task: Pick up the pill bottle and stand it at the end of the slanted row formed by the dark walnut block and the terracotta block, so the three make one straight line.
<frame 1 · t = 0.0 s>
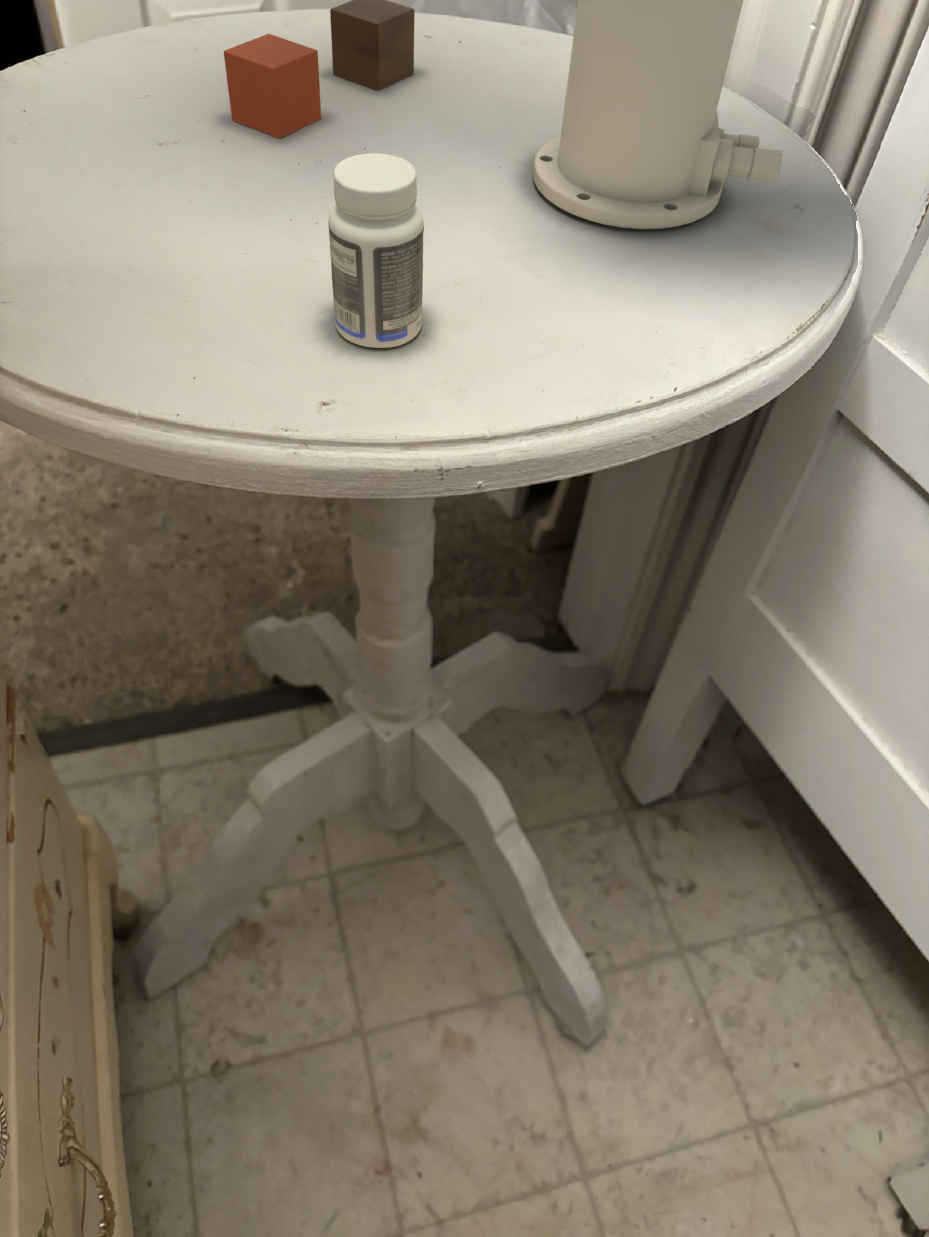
walnut block: (373, 74, 74), on the table
terracotta block: (277, 119, 68), on the table
pill bottle: (378, 329, 52), on the table
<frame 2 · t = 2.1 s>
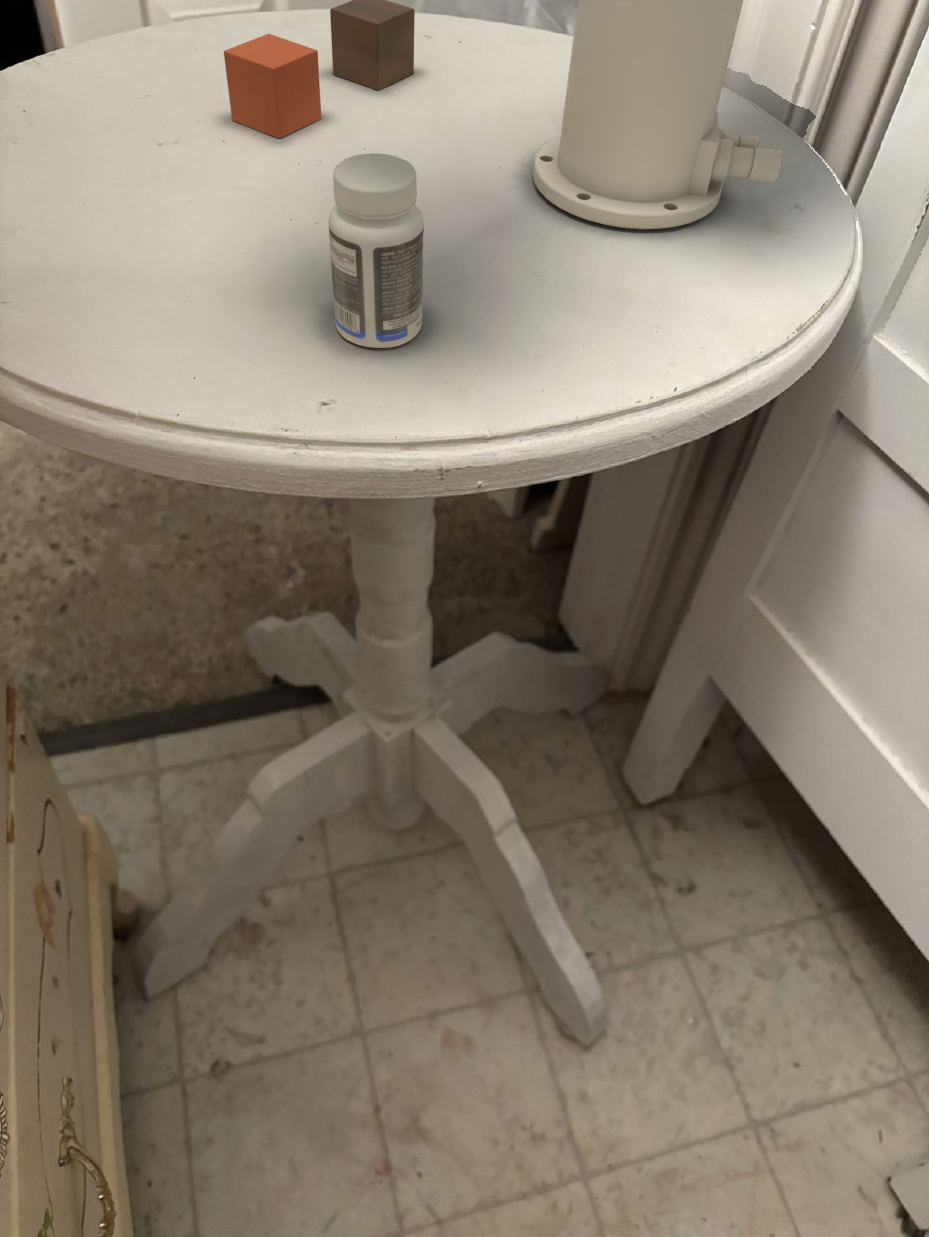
nothing on the table moved.
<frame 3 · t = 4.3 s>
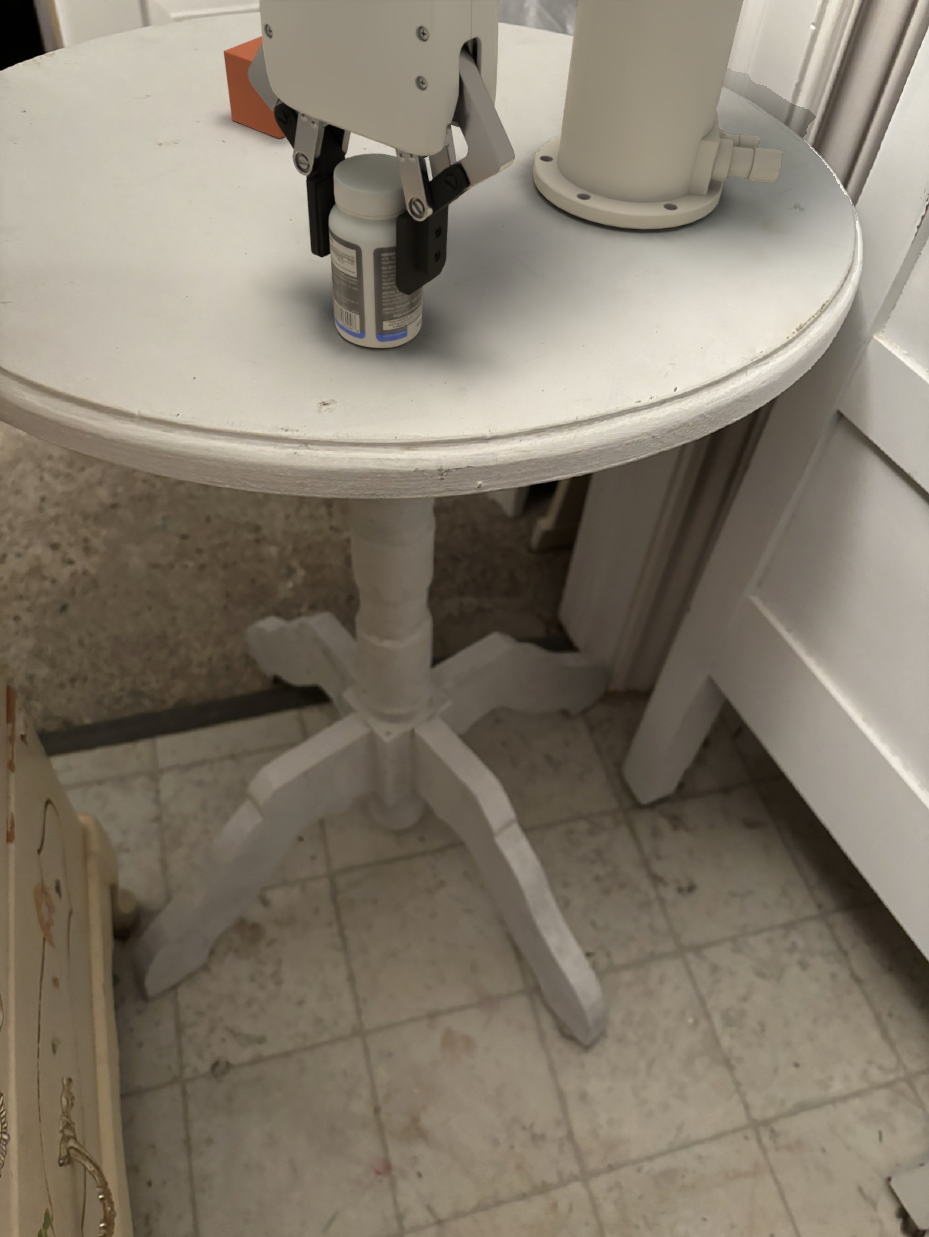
hand: (377, 260, 49), 4 cm above the table, tool pointing down, fingers closed on pill bottle, 4 cm apart
pill bottle: (378, 329, 52), on the table, touching gripper
everything else where it was.
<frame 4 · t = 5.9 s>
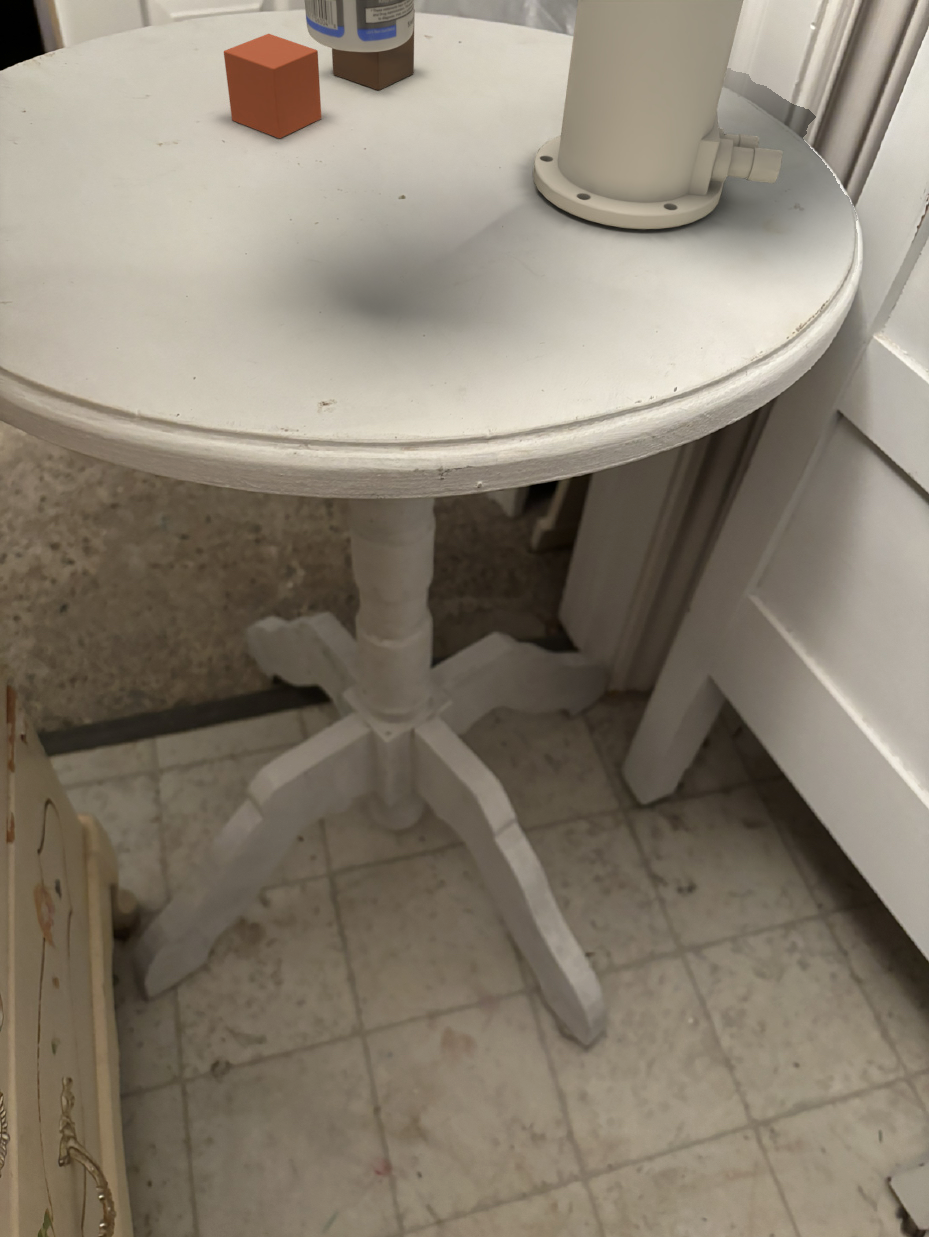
pill bottle: (360, 39, 42), point 14 cm above the table, touching gripper
everything else where it was.
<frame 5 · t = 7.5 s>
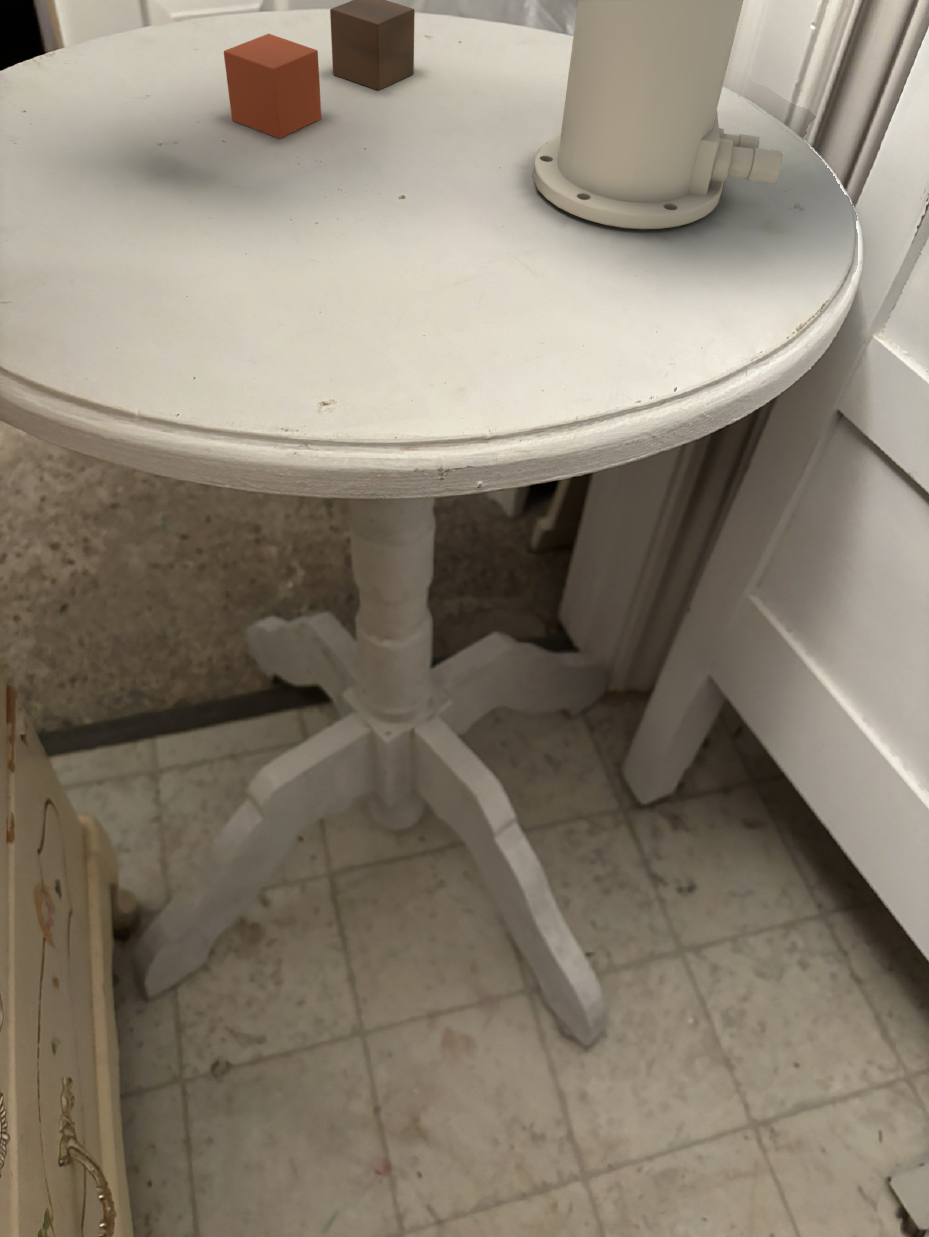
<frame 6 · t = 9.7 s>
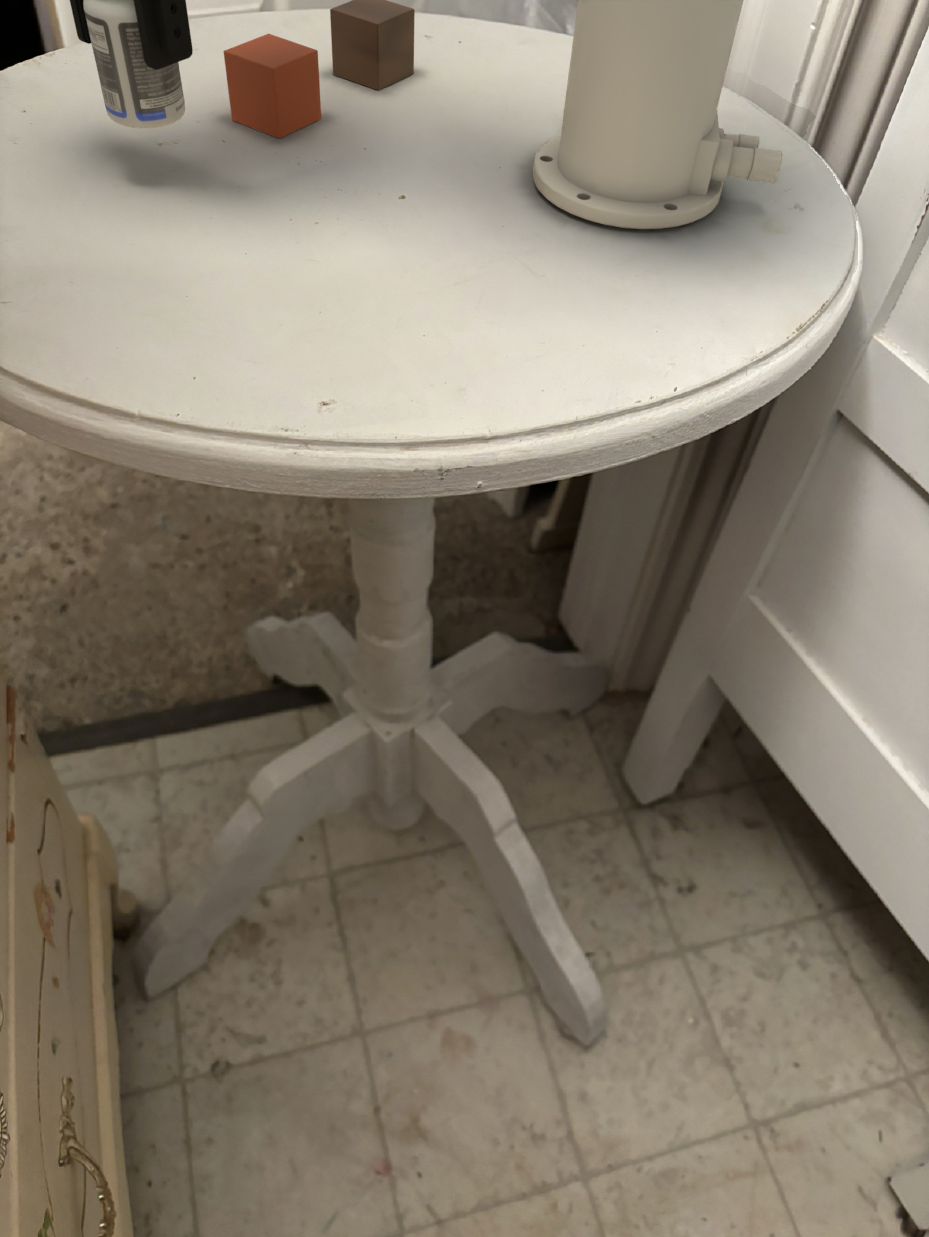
hand: (135, 46, 56), 8 cm above the table, tool pointing down, fingers closed on pill bottle, 4 cm apart
pill bottle: (147, 117, 59), point 4 cm above the table, touching gripper
everything else where it was.
when the fingers open (4 cm above the table, at t = 11.1 s): pill bottle stays where it is, on the table.
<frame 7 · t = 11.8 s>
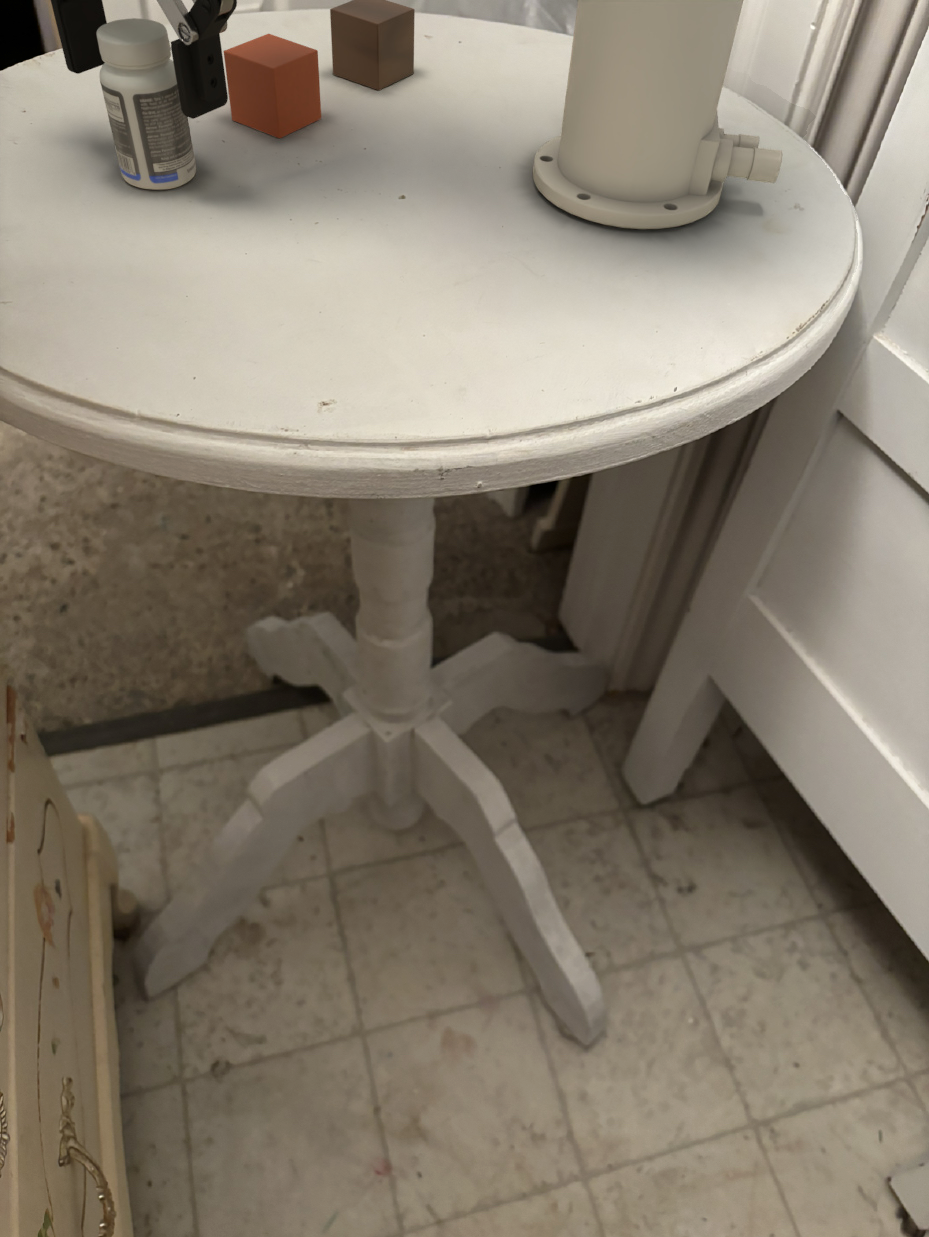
hand: (147, 88, 58), 5 cm above the table, tool pointing down, fingers open, 9 cm apart
pill bottle: (159, 177, 62), on the table
everything else where it was.
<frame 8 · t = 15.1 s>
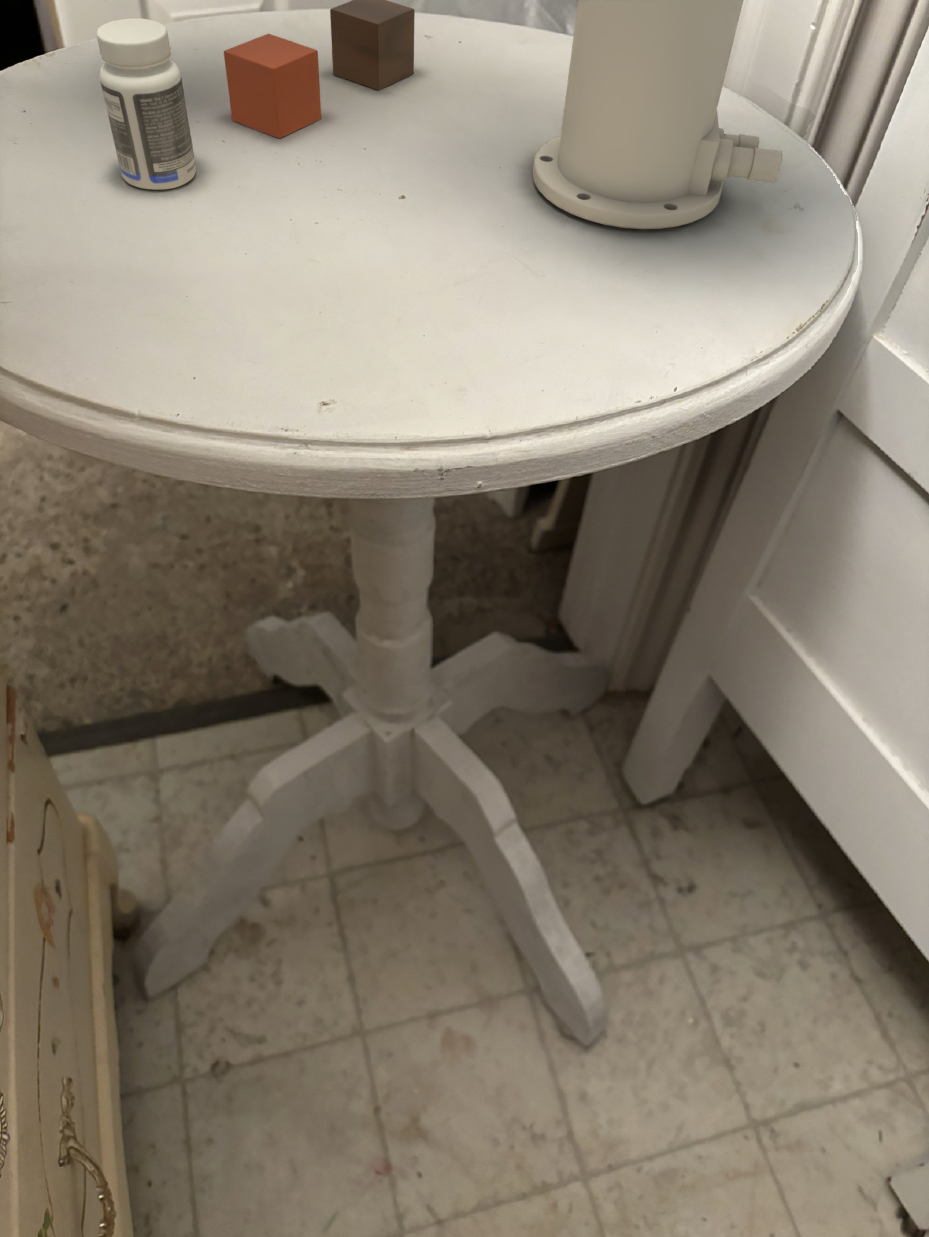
nothing on the table moved.
at the end: pill bottle 0.1 cm from the target spot on the table beside the walnut block, on the table; pill bottle tilted 0°; terracotta block moved 0.0 cm from its start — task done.
